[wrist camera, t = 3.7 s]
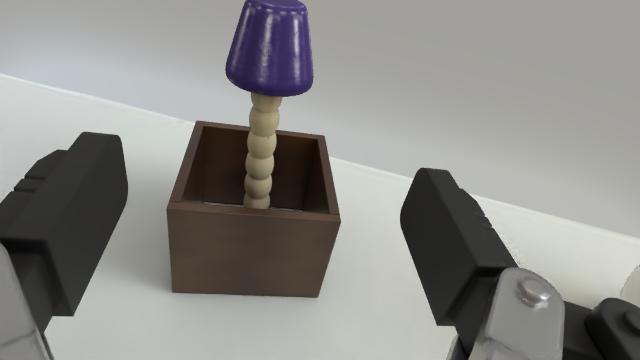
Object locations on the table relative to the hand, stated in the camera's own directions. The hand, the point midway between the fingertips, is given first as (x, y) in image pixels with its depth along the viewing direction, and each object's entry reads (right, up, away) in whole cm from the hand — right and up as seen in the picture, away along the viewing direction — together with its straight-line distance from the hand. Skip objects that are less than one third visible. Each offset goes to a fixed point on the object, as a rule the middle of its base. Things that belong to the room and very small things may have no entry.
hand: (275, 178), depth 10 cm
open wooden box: (-4, -5, +17) cm, 18 cm away
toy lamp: (-4, -5, +17) cm, 18 cm away
